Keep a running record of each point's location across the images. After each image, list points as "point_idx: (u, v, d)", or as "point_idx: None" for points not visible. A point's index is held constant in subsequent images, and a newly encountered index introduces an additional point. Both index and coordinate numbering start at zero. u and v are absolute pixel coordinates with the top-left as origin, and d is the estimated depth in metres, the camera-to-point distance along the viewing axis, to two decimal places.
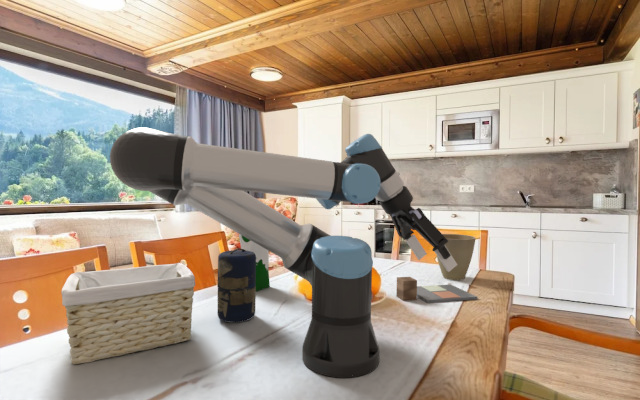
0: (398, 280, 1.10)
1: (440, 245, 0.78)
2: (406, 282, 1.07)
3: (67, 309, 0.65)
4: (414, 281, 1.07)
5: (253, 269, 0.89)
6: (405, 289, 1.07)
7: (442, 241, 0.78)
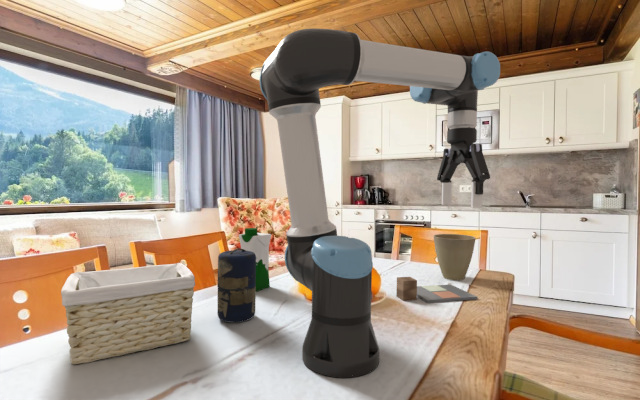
0: (398, 280, 1.10)
1: (482, 176, 0.88)
2: (406, 282, 1.07)
3: (67, 309, 0.65)
4: (414, 281, 1.07)
5: (253, 269, 0.89)
6: (405, 289, 1.07)
7: (485, 175, 0.88)
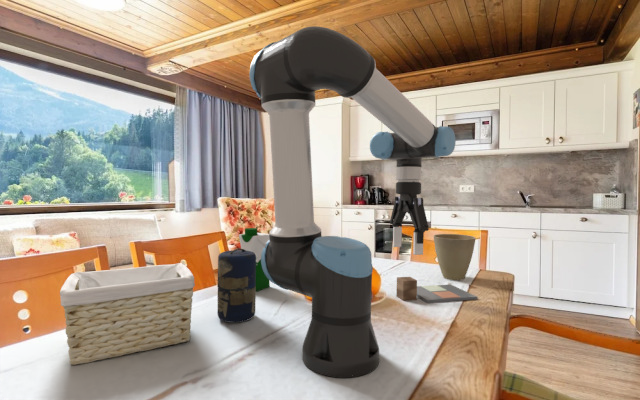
0: (398, 280, 1.10)
1: (422, 228, 0.99)
2: (406, 282, 1.07)
3: (65, 309, 0.64)
4: (414, 281, 1.07)
5: (253, 269, 0.89)
6: (405, 289, 1.07)
7: (424, 227, 0.99)
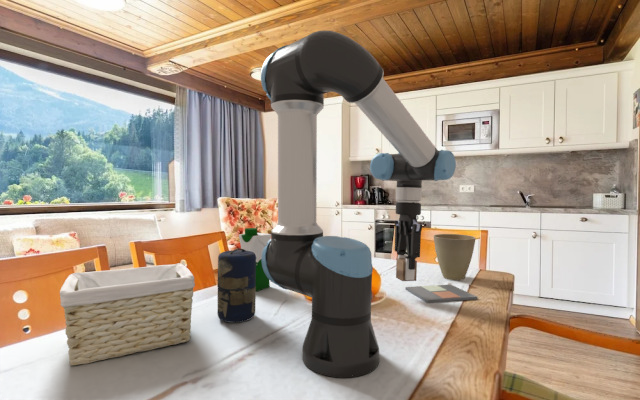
0: (398, 261, 1.09)
1: (413, 255, 1.03)
2: None
3: (65, 310, 0.64)
4: None
5: (253, 269, 0.89)
6: None
7: (416, 255, 1.03)
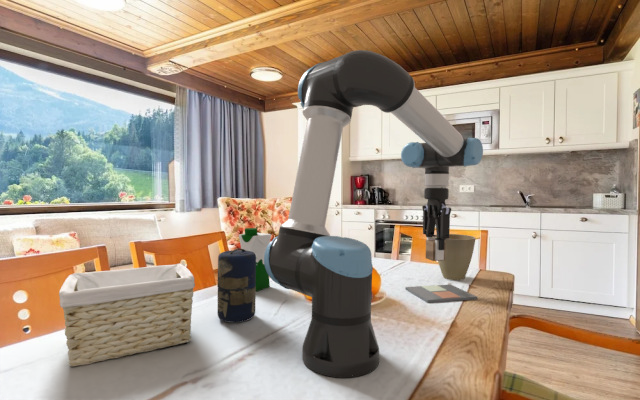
0: (427, 242, 1.17)
1: (443, 236, 1.10)
2: None
3: (65, 311, 0.64)
4: None
5: (253, 269, 0.89)
6: None
7: (446, 236, 1.11)
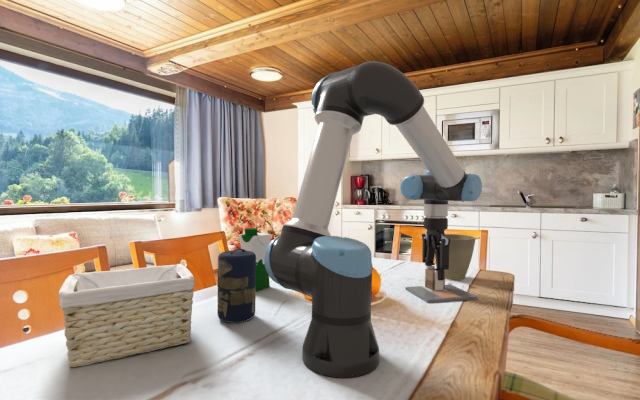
0: (427, 271, 1.17)
1: (442, 267, 1.11)
2: None
3: (64, 311, 0.64)
4: None
5: (253, 269, 0.89)
6: (434, 280, 1.14)
7: (445, 267, 1.11)
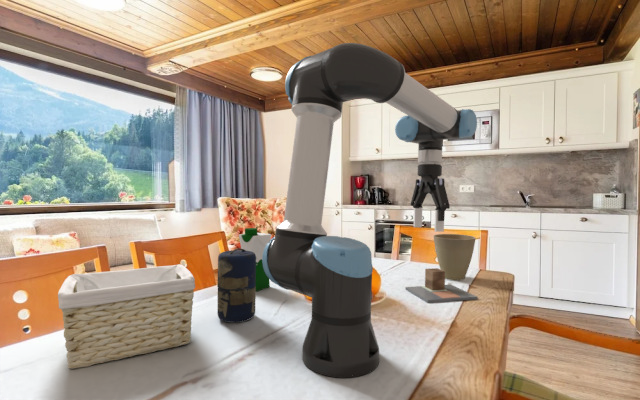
0: (427, 271, 1.17)
1: (443, 206, 1.06)
2: (435, 273, 1.14)
3: (64, 312, 0.63)
4: (442, 272, 1.15)
5: (253, 269, 0.89)
6: (434, 280, 1.14)
7: (446, 205, 1.06)
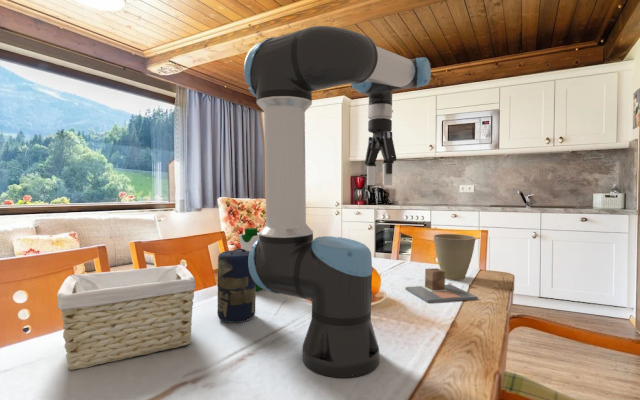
0: (427, 271, 1.17)
1: (390, 158, 1.05)
2: (435, 273, 1.14)
3: (63, 313, 0.63)
4: (442, 272, 1.15)
5: None
6: (434, 280, 1.14)
7: (392, 157, 1.06)
